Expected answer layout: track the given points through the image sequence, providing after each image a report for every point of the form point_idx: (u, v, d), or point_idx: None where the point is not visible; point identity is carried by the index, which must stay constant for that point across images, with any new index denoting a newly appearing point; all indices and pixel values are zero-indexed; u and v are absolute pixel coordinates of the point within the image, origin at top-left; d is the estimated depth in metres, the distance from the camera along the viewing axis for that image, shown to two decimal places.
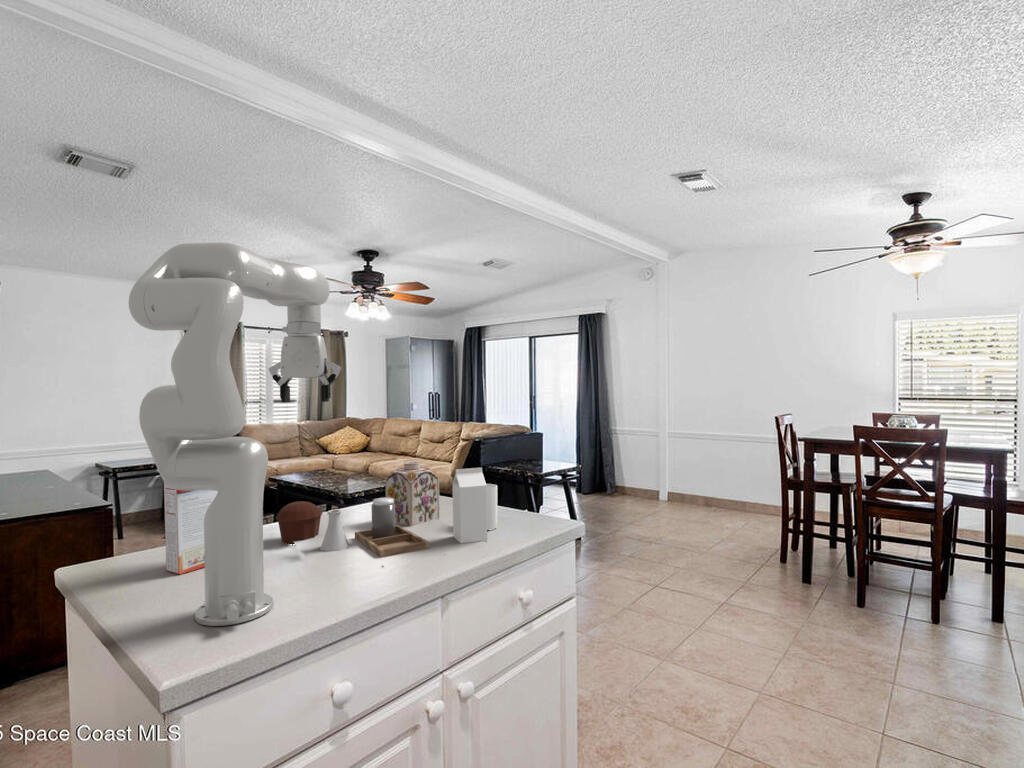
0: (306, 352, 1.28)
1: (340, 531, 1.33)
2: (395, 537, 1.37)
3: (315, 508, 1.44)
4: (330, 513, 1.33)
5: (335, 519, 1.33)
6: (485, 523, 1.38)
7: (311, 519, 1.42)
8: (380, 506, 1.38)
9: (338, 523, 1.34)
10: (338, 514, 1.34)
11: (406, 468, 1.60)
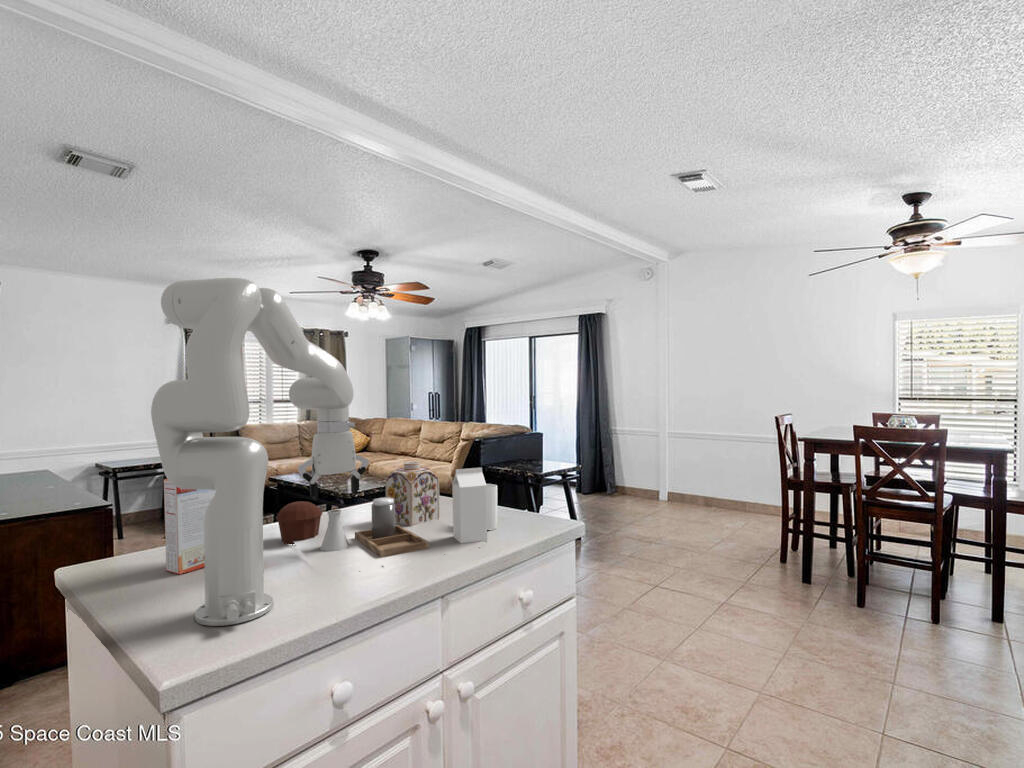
0: None
1: (340, 531, 1.33)
2: (395, 537, 1.37)
3: (315, 508, 1.45)
4: (330, 513, 1.33)
5: (335, 519, 1.33)
6: (485, 523, 1.38)
7: (311, 519, 1.42)
8: (380, 506, 1.38)
9: (338, 523, 1.34)
10: (338, 514, 1.34)
11: (406, 468, 1.60)
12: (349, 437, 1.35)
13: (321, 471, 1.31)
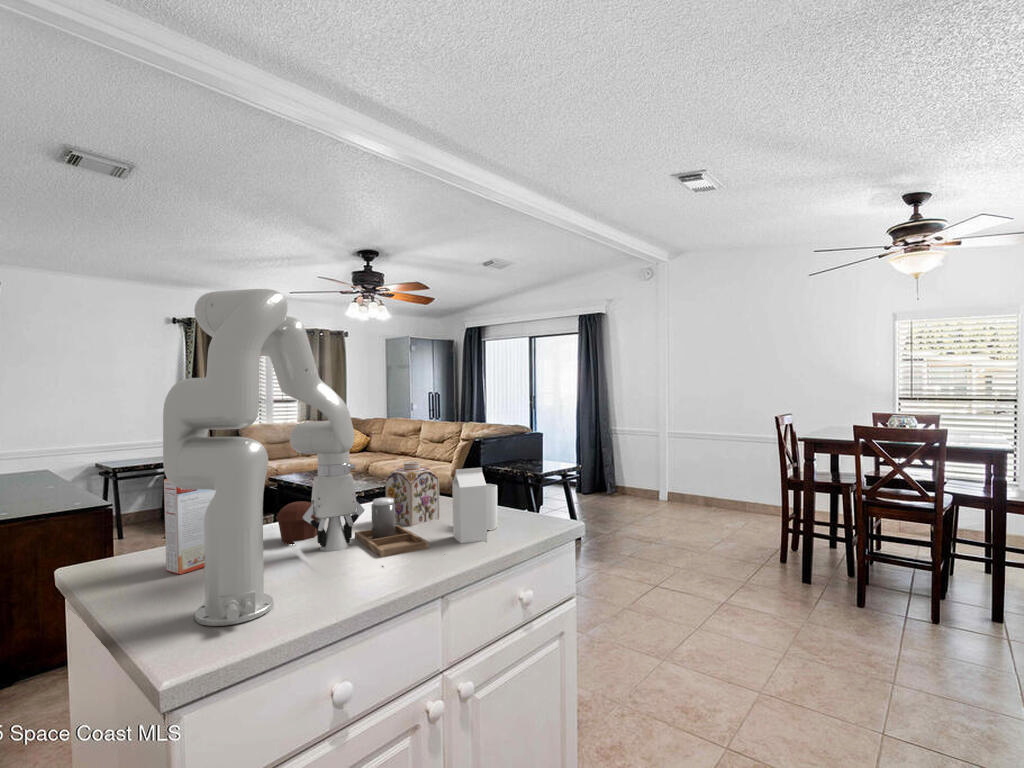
0: None
1: (340, 531, 1.33)
2: (395, 537, 1.37)
3: None
4: None
5: (335, 519, 1.33)
6: (485, 523, 1.38)
7: None
8: (380, 506, 1.38)
9: (338, 523, 1.34)
10: None
11: (406, 468, 1.60)
12: (349, 480, 1.34)
13: (321, 515, 1.31)
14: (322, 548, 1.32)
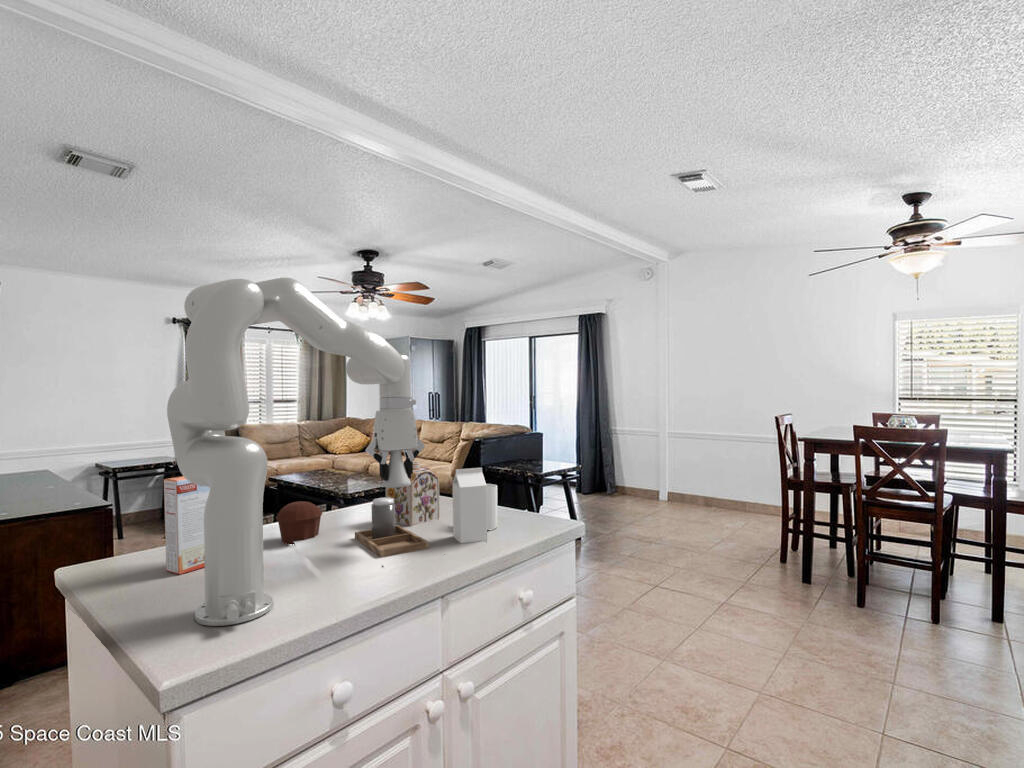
0: None
1: (402, 465, 1.32)
2: (395, 537, 1.37)
3: (315, 508, 1.44)
4: None
5: (397, 453, 1.32)
6: (485, 523, 1.38)
7: (311, 519, 1.42)
8: (380, 506, 1.38)
9: (400, 457, 1.32)
10: None
11: None
12: (411, 414, 1.33)
13: (384, 448, 1.29)
14: (384, 482, 1.31)
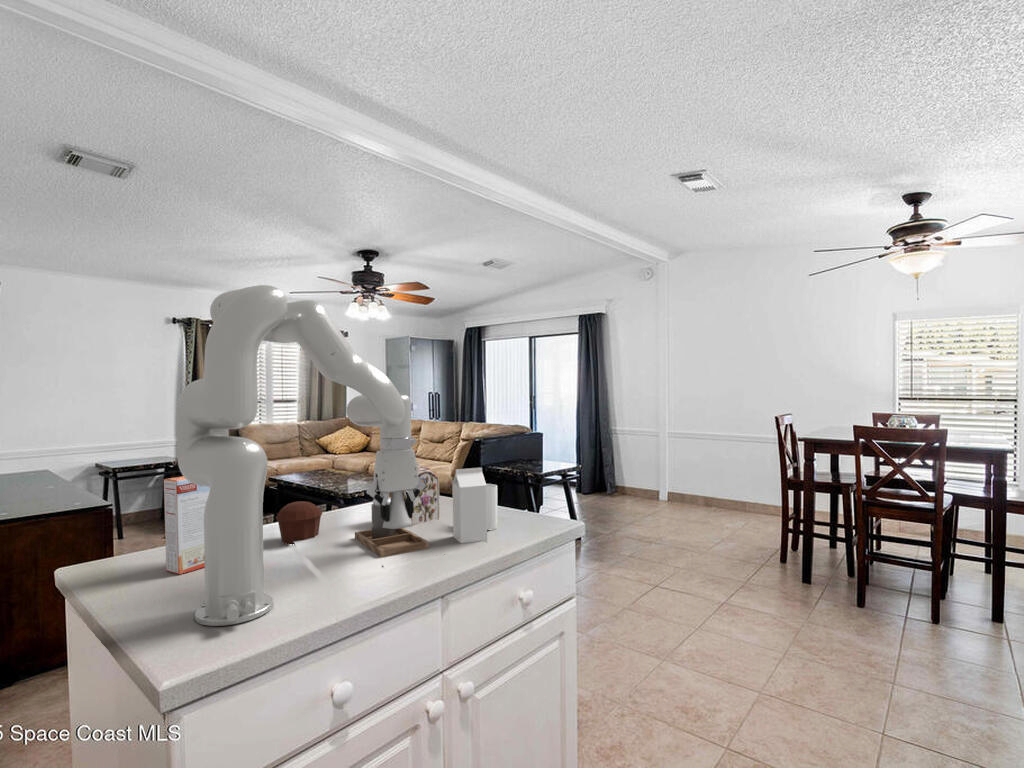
0: None
1: (403, 505, 1.32)
2: (395, 537, 1.37)
3: (315, 508, 1.44)
4: None
5: (397, 494, 1.32)
6: (485, 523, 1.38)
7: (311, 519, 1.42)
8: None
9: (401, 497, 1.32)
10: None
11: None
12: (412, 454, 1.33)
13: (385, 489, 1.29)
14: (385, 523, 1.31)
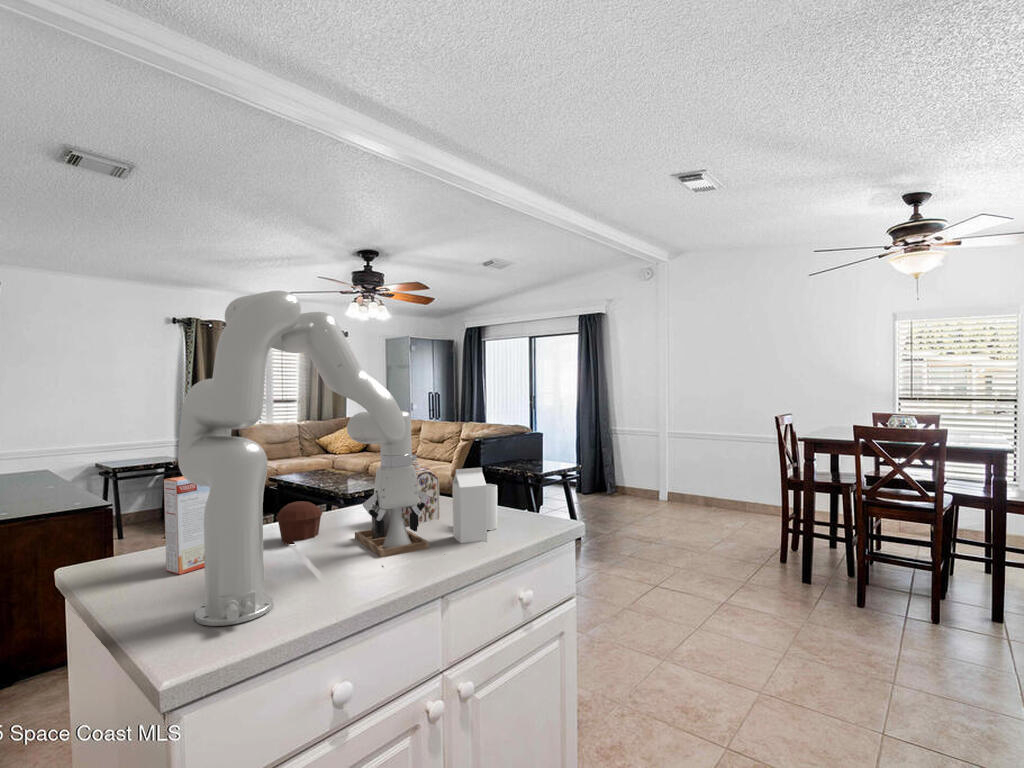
0: None
1: (402, 527, 1.32)
2: None
3: (315, 508, 1.44)
4: (392, 509, 1.31)
5: (397, 515, 1.32)
6: (485, 523, 1.38)
7: (311, 519, 1.42)
8: None
9: (400, 519, 1.32)
10: (400, 510, 1.32)
11: None
12: (412, 471, 1.33)
13: (385, 506, 1.29)
14: (385, 544, 1.31)
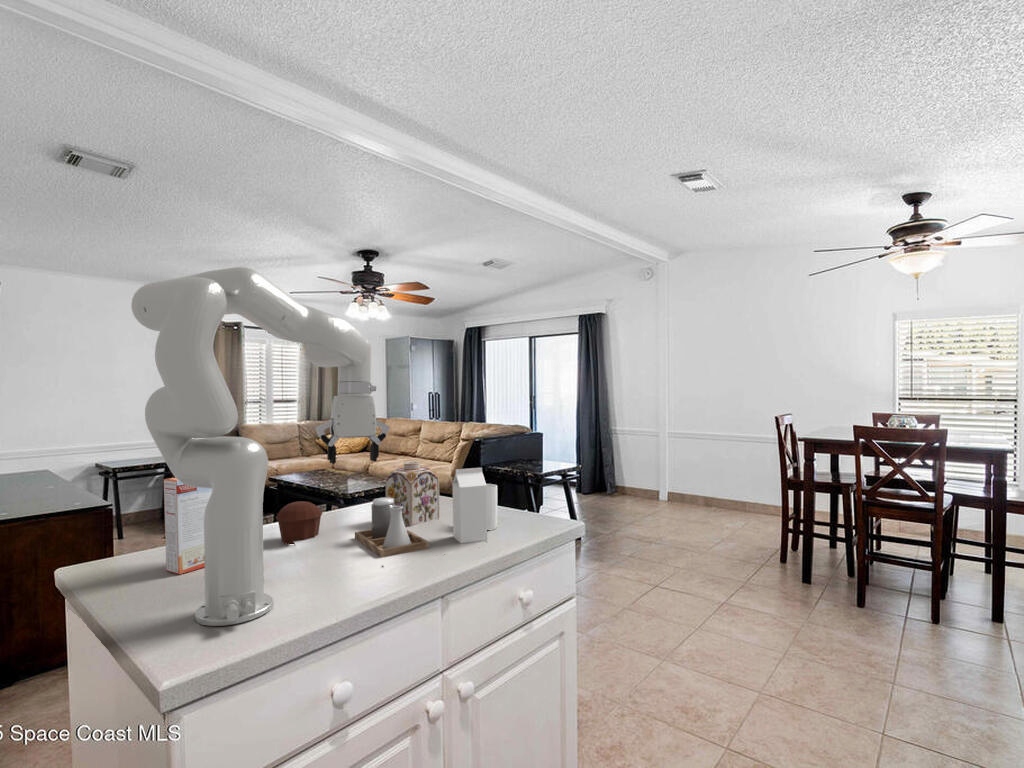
0: None
1: (402, 527, 1.32)
2: None
3: (315, 508, 1.44)
4: (393, 509, 1.31)
5: (397, 515, 1.32)
6: (485, 523, 1.38)
7: (311, 519, 1.42)
8: (380, 506, 1.38)
9: (400, 519, 1.32)
10: (400, 510, 1.32)
11: (406, 468, 1.60)
12: (370, 400, 1.29)
13: (340, 433, 1.26)
14: (385, 544, 1.31)
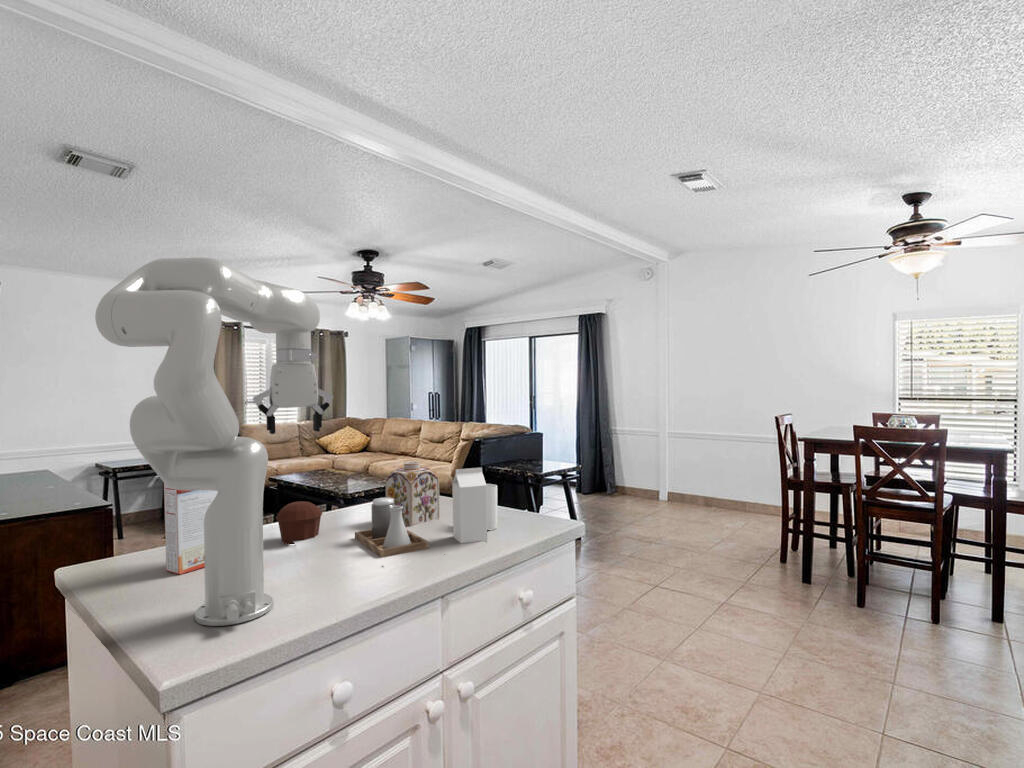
0: None
1: (402, 527, 1.32)
2: None
3: (315, 508, 1.44)
4: (393, 509, 1.31)
5: (397, 515, 1.32)
6: (485, 523, 1.38)
7: (311, 519, 1.42)
8: (380, 506, 1.38)
9: (400, 519, 1.32)
10: (400, 510, 1.32)
11: (406, 468, 1.60)
12: (311, 368, 1.25)
13: (279, 402, 1.21)
14: (385, 544, 1.31)
